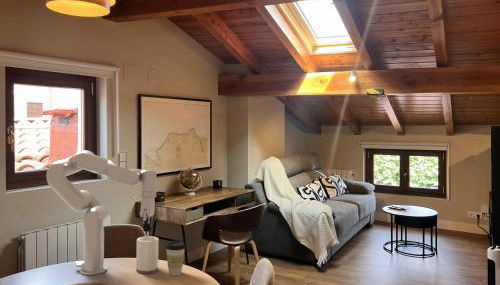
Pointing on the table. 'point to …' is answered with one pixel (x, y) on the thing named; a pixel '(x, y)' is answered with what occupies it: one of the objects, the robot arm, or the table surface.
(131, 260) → the table surface
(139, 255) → the coffee press
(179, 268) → the coffee cup
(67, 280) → the table surface
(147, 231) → the plunger
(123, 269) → the table surface
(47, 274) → the table surface
